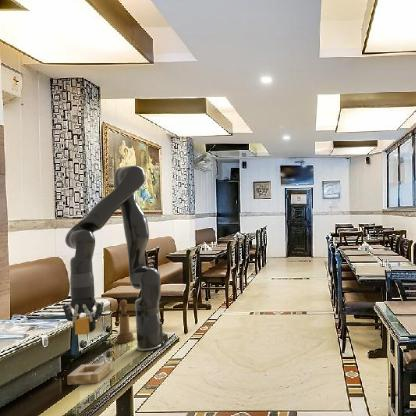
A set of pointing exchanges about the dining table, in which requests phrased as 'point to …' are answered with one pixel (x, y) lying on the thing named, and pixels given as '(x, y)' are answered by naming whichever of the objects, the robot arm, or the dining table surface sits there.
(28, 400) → the dining table surface
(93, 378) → the wooden square tray
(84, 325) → the orange block
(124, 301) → the brown tall wooden piece
